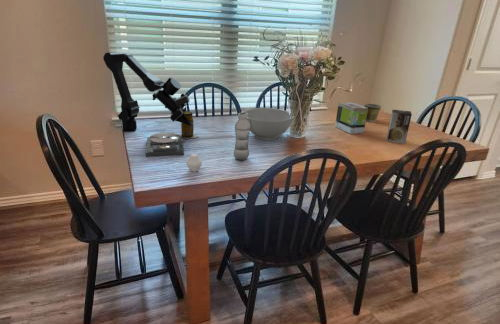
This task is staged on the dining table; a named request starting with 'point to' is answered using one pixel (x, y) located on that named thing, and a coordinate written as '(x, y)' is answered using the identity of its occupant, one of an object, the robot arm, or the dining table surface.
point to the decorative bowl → (268, 122)
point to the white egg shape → (194, 162)
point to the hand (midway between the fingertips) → (190, 123)
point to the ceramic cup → (372, 112)
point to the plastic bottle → (242, 137)
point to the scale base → (164, 148)
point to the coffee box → (399, 126)
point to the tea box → (351, 117)
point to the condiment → (187, 127)
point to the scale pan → (164, 138)
